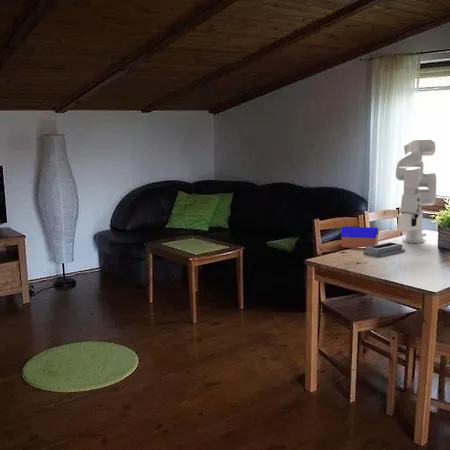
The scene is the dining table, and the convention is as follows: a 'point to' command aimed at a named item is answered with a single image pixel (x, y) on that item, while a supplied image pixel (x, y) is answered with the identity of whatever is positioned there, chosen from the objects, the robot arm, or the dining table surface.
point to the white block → (408, 222)
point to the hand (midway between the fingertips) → (410, 225)
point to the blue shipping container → (359, 237)
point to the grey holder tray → (384, 249)
